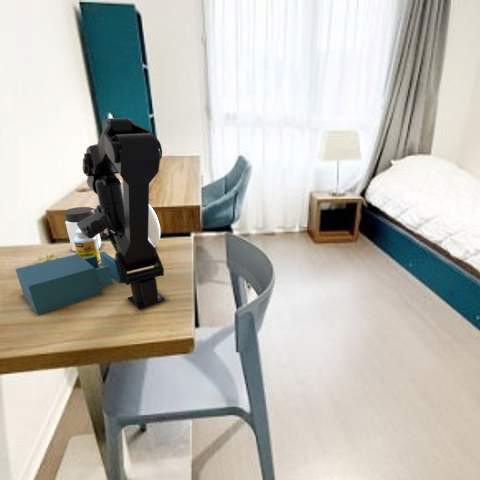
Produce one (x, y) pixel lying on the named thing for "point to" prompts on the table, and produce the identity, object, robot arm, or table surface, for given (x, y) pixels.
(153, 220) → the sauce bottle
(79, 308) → the table surface
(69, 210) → the jar
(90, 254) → the supplement bottle
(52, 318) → the table surface
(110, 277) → the drawer
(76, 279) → the cabinet
